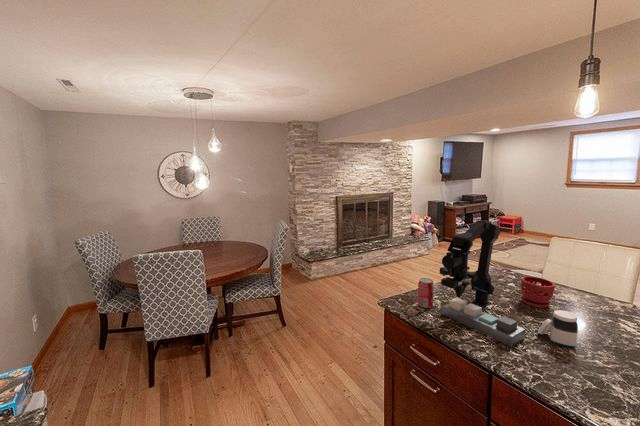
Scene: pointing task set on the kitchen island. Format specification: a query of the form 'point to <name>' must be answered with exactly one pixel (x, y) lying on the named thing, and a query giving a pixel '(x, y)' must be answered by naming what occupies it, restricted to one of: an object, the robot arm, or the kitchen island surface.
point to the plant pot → (536, 291)
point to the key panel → (484, 326)
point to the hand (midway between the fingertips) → (458, 297)
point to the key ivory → (457, 304)
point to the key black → (507, 324)
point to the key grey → (473, 310)
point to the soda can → (425, 292)
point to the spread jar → (562, 329)
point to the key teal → (488, 319)
